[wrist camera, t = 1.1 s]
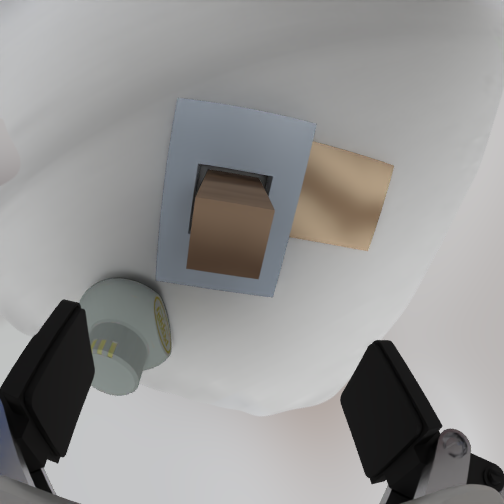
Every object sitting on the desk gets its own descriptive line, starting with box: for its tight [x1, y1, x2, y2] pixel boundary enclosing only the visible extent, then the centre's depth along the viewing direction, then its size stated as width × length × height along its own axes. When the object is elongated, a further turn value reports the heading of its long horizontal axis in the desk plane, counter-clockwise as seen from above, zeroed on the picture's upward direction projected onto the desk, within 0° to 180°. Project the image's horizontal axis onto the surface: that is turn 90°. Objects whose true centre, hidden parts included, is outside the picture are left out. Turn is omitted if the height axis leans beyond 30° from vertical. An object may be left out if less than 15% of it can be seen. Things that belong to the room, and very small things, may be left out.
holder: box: [156, 98, 317, 297], centre depth 25 cm, size 16×11×2 cm
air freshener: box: [79, 278, 171, 396], centre depth 26 cm, size 11×8×10 cm
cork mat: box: [289, 142, 394, 251], centre depth 27 cm, size 9×9×1 cm
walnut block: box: [186, 169, 275, 279], centre depth 22 cm, size 4×4×10 cm
